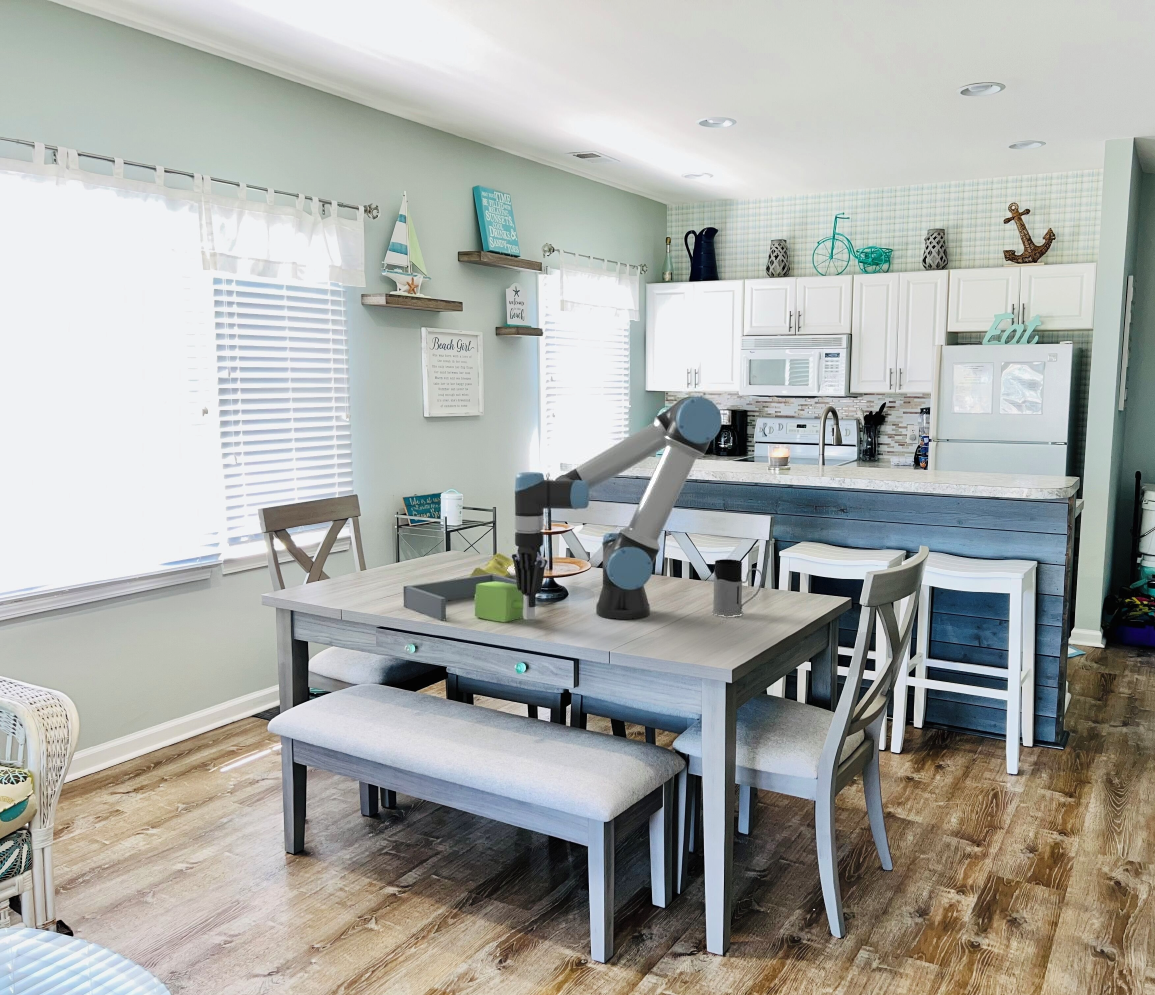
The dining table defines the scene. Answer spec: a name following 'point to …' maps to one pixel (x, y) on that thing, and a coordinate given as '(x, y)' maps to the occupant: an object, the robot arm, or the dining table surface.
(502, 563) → the yellow crumpled cloth
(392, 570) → the dining table surface
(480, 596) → the gearbox
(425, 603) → the grey low frame
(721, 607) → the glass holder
